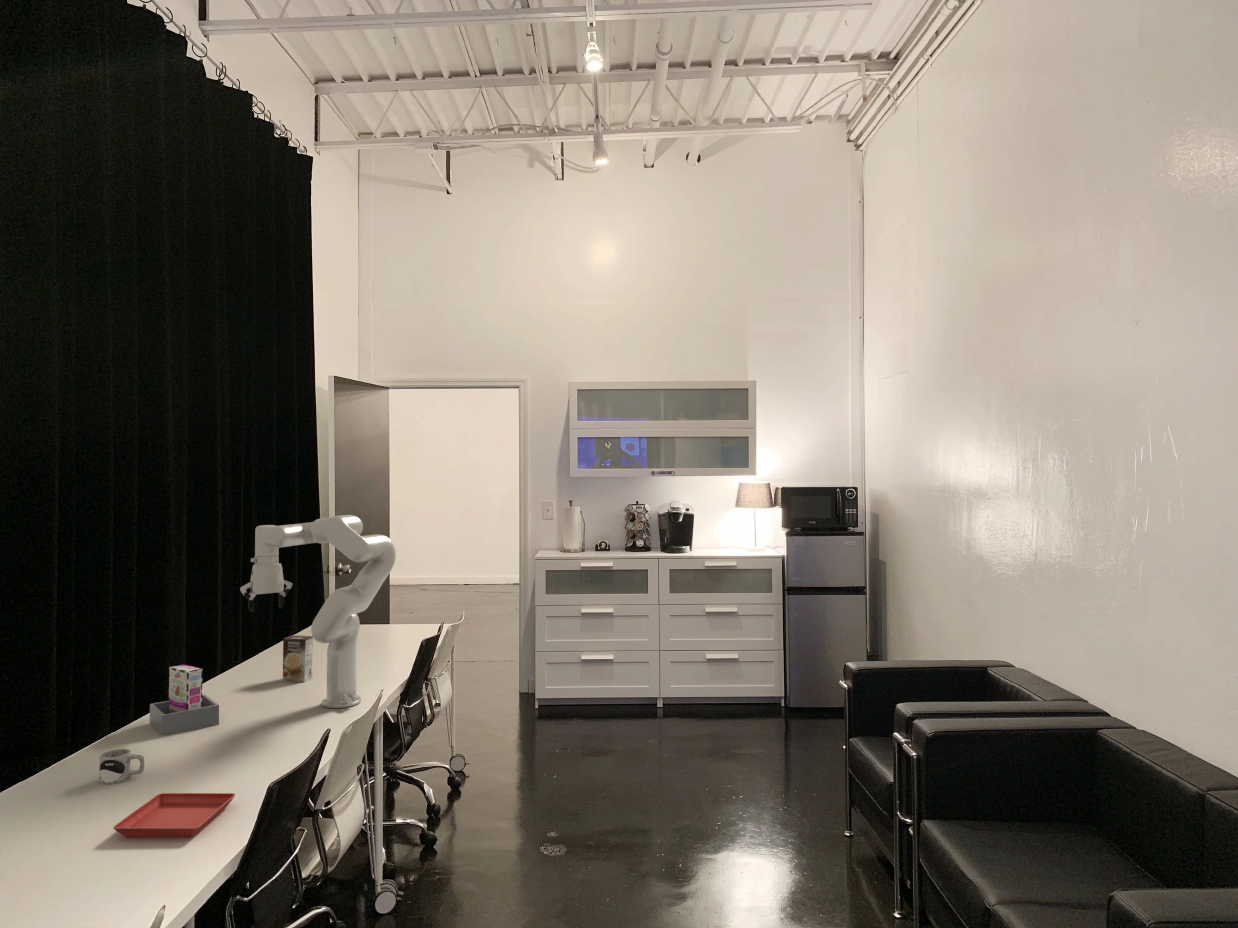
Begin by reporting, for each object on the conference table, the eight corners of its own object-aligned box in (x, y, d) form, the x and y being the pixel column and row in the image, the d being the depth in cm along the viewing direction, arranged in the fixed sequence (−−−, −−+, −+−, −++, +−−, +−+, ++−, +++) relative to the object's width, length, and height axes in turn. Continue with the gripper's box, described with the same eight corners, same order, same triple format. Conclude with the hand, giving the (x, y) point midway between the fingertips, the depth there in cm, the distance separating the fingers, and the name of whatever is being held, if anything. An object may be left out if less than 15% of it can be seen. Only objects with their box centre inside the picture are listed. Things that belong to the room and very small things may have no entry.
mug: (94, 785, 193) (95, 759, 193) (104, 775, 200) (105, 749, 200) (140, 781, 196) (140, 755, 196) (148, 771, 202) (148, 746, 202)
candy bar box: (203, 721, 240) (203, 668, 240) (186, 725, 236) (187, 671, 236) (183, 715, 246) (184, 663, 246) (167, 719, 242) (168, 666, 242)
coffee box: (281, 681, 289) (281, 638, 289) (290, 677, 295) (290, 634, 295) (304, 682, 288) (305, 639, 288) (313, 677, 294) (313, 635, 294)
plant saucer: (236, 805, 183) (237, 791, 183) (197, 842, 164) (197, 826, 165) (159, 806, 182) (159, 792, 182) (110, 843, 164) (111, 827, 164)
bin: (218, 724, 240) (219, 704, 240) (161, 735, 229) (162, 715, 230) (204, 712, 252) (204, 694, 252) (149, 723, 241) (149, 703, 241)
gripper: (244, 563, 262) (243, 613, 262) (295, 559, 274) (295, 607, 274) (237, 561, 268) (236, 610, 268) (288, 557, 280) (288, 605, 279)
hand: (266, 609), depth 271 cm, fingers open, 9 cm apart
